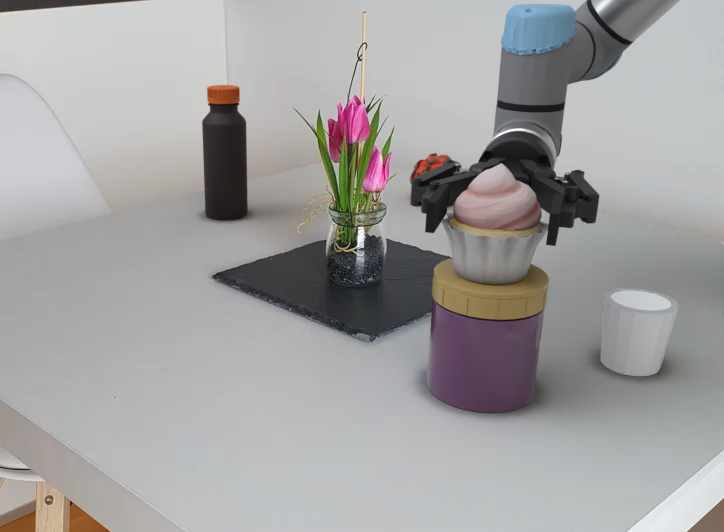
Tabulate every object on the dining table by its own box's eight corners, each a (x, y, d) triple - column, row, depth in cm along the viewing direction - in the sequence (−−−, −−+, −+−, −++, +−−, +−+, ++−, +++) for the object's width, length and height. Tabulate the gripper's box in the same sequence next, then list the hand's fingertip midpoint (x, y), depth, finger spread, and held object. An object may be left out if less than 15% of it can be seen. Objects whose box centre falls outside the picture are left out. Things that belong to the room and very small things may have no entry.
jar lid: (549, 285, 79) (552, 262, 78) (541, 326, 71) (545, 300, 70) (442, 273, 83) (444, 250, 82) (422, 310, 74) (424, 285, 73)
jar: (537, 372, 83) (551, 267, 79) (528, 421, 74) (543, 306, 70) (436, 357, 86) (444, 256, 82) (417, 402, 77) (424, 291, 73)
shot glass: (670, 358, 86) (683, 294, 83) (661, 385, 80) (674, 318, 77) (600, 343, 89) (610, 282, 86) (587, 369, 83) (597, 304, 81)
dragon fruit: (440, 200, 147) (436, 229, 137) (402, 171, 146) (396, 199, 136) (472, 164, 143) (471, 192, 133) (433, 134, 142) (429, 160, 132)
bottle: (196, 215, 133) (191, 87, 126) (224, 206, 138) (220, 82, 131) (229, 223, 130) (225, 91, 122) (256, 213, 135) (254, 86, 127)
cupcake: (560, 270, 76) (575, 162, 72) (516, 300, 70) (529, 183, 66) (467, 249, 82) (476, 148, 78) (418, 275, 75) (425, 166, 71)
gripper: (622, 209, 87) (624, 282, 67) (412, 190, 94) (360, 251, 75) (633, 136, 84) (639, 191, 65) (417, 123, 91) (363, 168, 72)
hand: (490, 223), depth 70 cm, fingers closed on cupcake, 9 cm apart
